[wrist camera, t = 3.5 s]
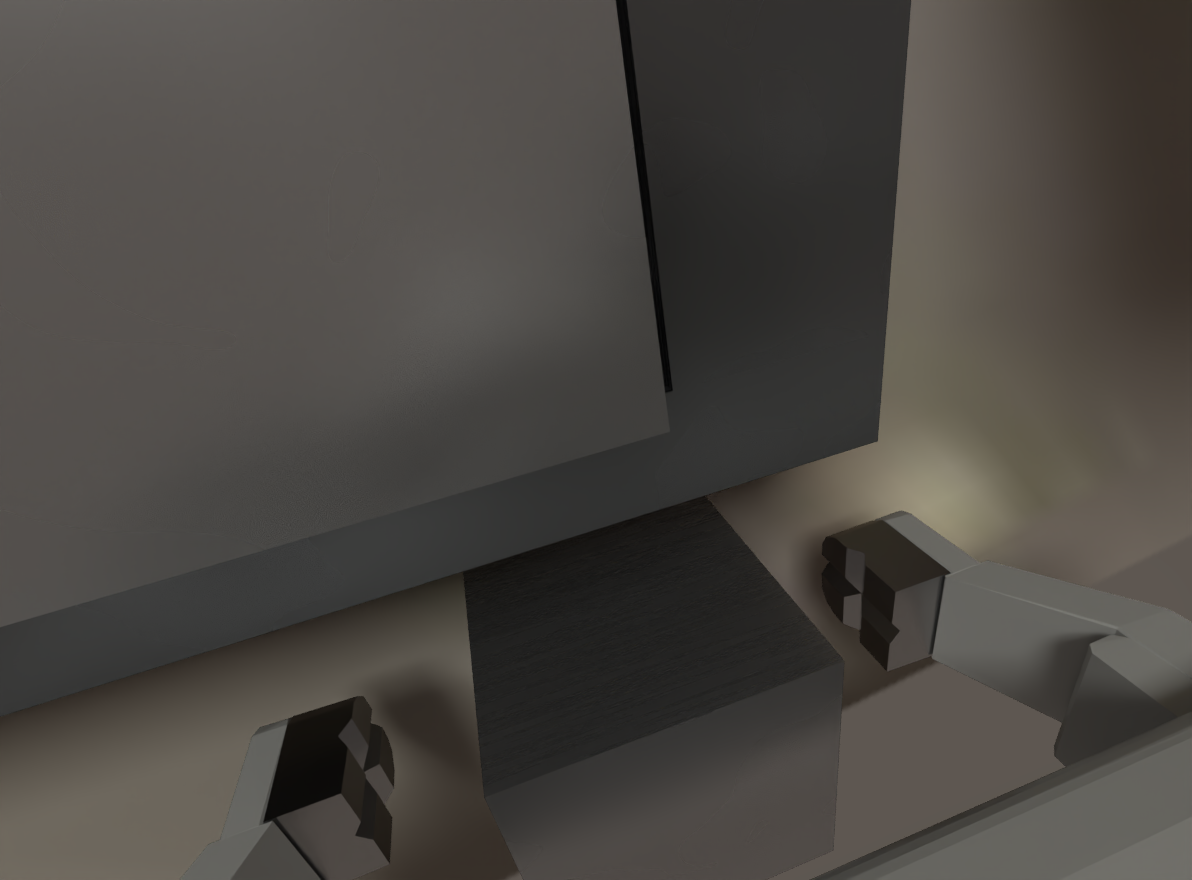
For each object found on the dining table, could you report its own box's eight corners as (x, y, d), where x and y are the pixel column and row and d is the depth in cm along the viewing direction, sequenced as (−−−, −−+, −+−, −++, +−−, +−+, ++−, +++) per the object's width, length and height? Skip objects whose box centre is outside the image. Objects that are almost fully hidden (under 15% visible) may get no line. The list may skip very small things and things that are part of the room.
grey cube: (670, 455, 10) (843, 660, 6) (690, 609, 12) (833, 850, 8) (457, 518, 10) (484, 797, 6) (512, 671, 12) (564, 967, 7)
